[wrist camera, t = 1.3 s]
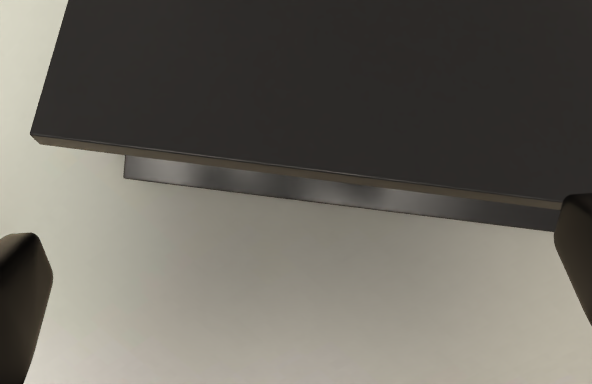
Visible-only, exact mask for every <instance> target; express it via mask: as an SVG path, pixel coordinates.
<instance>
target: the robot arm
mask: <svg viewBox="0 0 592 384" xmlns="http://www.w3.org/2000/svg"><path fill="white" fill-rule="evenodd" d="M554 243H555V247H556V250H557V252H558V254H559V256H560V259H561V261H562V263H563V265H564V268H565V270H566V272H567V274H568V276H569V279H570V281H571V283H572V285H573V288H574V290H575V292H576V294H577V297H578V299H579V301H580V303H581V306H582V308H583V310H584V312H585V314H586V316H587V318H588V320H589V322H590V324H591V326H592V193H582V194H570V195H568V196H566V197H565V199H564V200H563V202H562V206H561V209H560V213H559V217H558V221H557V225H556V228H555V232H554ZM52 283H53V272H52V269H51V266H50V263H49V261H48V258H47V256H46V254H45V251H44V249H43V246H42V244H41V241H40V239H39V237H38V236H37V235H35V234H33V233H19V234H10V235H7V236H5V237H3V238H2V239H0V384H23V383H24V380H25V378H26V375H27V372H28V369H29V367H30V364H31V361H32V358H33V354H34V351H35V348H36V344H37V340H38V336H39V333H40V329H41V325H42V321H43V318H44V314H45V310H46V306H47V303H48V299H49V295H50V291H51V288H52Z"/></svg>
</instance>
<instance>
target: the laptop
mask: <svg viewBox="0 0 592 384" xmlns="http://www.w3.org/2000/svg"><path fill="white" fill-rule="evenodd" d="M123 177H124V178H125V179H133V180H141V181H149V182H157V183H165V184H173V185H181V186H189V187H197V188H205V189H213V190H221V191H229V192H237V193H245V194H253V195H261V196H269V197H277V198H285V199H293V200H301V201H309V202H317V203H325V204H333V205H341V206H349V207H357V208H365V209H373V210H381V211H389V212H398V213H406V214H414V215H422V216H430V217H438V218H446V219H454V220H462V221H470V222H478V223H486V224H494V225H502V226H510V227H518V228H526V229H534V230H542V231H550V232H555V228H556V225H557V221H558V217H559V213H560V210H555V209H547V208H539V207H531V206H523V205H515V204H507V203H500V202H492V201H484V200H476V199H468V198H460V197H452V196H444V195H436V194H429V193H421V192H413V191H405V190H397V189H389V188H381V187H373V186H365V185H358V184H350V183H342V182H334V181H326V180H318V179H310V178H302V177H294V176H287V175H279V174H271V173H263V172H255V171H247V170H239V169H231V168H223V167H216V166H208V165H200V164H192V163H184V162H176V161H168V160H160V159H152V158H145V157H137V156H129V155H125V164H124V176H123Z"/></svg>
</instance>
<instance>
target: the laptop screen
mask: <svg viewBox="0 0 592 384" xmlns="http://www.w3.org/2000/svg"><path fill="white" fill-rule="evenodd" d="M30 135H31V136H32V137H33V138H34V139H35V140H36V141H37V142H38V143H39V144H42V145H50V146H58V147H66V148H74V149H81V150H89V151H97V152H105V153H113V154H121V155H129V156H137V157H145V158H152V159H160V160H168V161H176V162H184V163H192V164H200V165H208V166H216V167H223V168H231V169H239V170H247V171H255V172H263V173H271V174H279V175H287V176H294V177H302V178H310V179H318V180H326V181H334V182H342V183H350V184H358V185H365V186H373V187H381V188H389V189H397V190H405V191H413V192H421V193H429V194H436V195H444V196H452V197H460V198H468V199H476V200H484V201H492V202H500V203H507V204H515V205H523V206H531V207H539V208H547V209H555V210H560V209H561V206H562V202H563V200H564V199H565V197H566V196H568V195H570V194H582V193H592V0H68V4H67V7H66V11H65V14H64V18H63V21H62V24H61V28H60V31H59V35H58V38H57V42H56V45H55V48H54V52H53V55H52V59H51V62H50V66H49V69H48V72H47V76H46V79H45V83H44V86H43V90H42V93H41V97H40V100H39V103H38V107H37V110H36V114H35V117H34V121H33V124H32V127H31V131H30Z"/></svg>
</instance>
